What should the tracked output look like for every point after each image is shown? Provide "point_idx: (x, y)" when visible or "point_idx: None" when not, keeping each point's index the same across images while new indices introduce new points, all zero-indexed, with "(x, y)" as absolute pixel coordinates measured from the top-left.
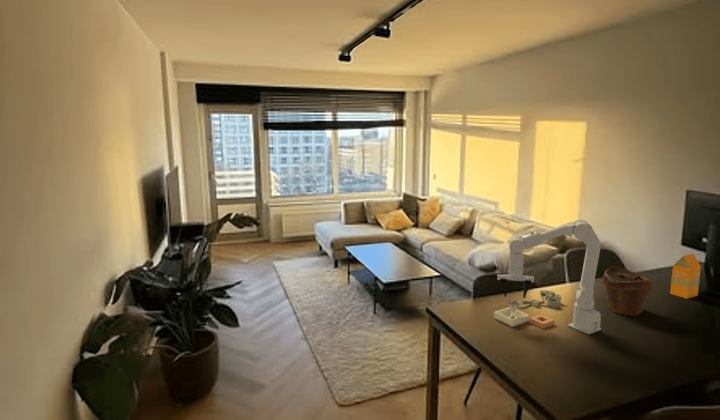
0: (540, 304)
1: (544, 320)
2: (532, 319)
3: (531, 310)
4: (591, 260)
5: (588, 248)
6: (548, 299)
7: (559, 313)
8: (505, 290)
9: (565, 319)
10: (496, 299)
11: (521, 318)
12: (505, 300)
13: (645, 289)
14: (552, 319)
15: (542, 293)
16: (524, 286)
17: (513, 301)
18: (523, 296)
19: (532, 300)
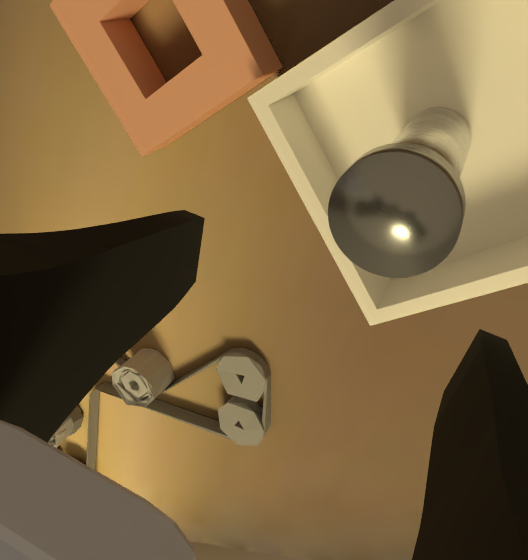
0: (117, 361)
1: (137, 56)
2: (240, 28)
3: (194, 304)
4: None
5: None
6: None
7: (32, 220)
8: (508, 410)
9: (4, 113)
10: (385, 530)
11: (363, 22)
12: (324, 494)
13: None
14: (63, 22)
15: None
16: (51, 333)
17: (385, 210)
18: (191, 244)
19: (147, 402)
